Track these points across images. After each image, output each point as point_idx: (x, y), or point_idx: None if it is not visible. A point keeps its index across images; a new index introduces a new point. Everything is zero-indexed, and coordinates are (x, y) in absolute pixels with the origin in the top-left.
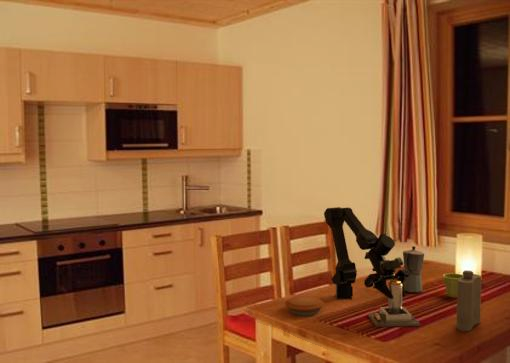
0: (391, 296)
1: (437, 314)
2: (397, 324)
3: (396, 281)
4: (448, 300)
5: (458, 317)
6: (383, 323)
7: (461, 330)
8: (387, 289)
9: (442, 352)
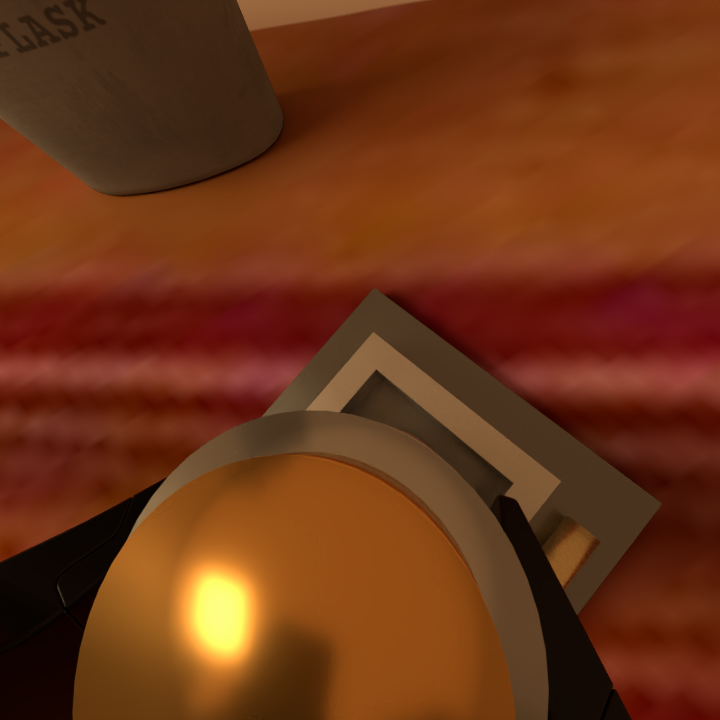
0: (517, 514)
1: (111, 344)
2: (502, 384)
3: (254, 650)
4: None
5: (248, 68)
6: (590, 466)
7: (283, 118)
8: (584, 683)
9: (643, 2)
